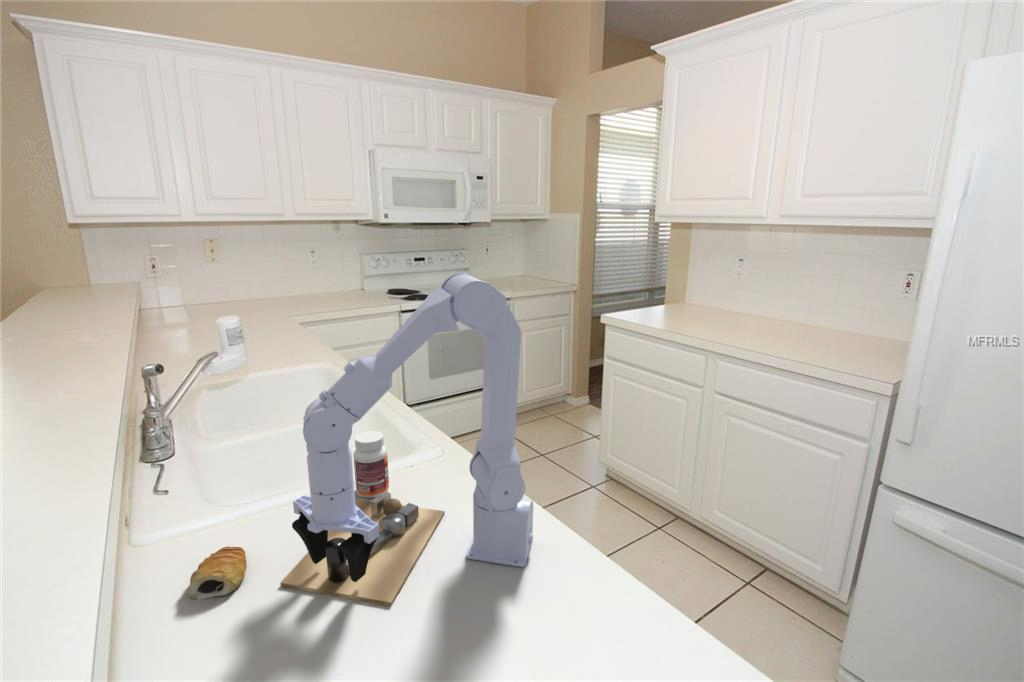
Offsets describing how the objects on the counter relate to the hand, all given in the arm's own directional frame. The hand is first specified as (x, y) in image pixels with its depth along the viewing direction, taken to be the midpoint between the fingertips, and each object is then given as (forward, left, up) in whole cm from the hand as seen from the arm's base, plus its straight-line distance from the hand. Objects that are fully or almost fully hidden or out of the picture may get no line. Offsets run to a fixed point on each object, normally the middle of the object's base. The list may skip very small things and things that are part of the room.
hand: (339, 568), depth 72 cm
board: (-1, -8, -2) cm, 9 cm away
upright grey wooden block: (+1, -16, -2) cm, 17 cm away
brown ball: (-1, -16, 0) cm, 16 cm away
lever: (-2, -7, -1) cm, 8 cm away
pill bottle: (+7, -23, -2) cm, 25 cm away
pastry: (+17, +4, -3) cm, 18 cm away
